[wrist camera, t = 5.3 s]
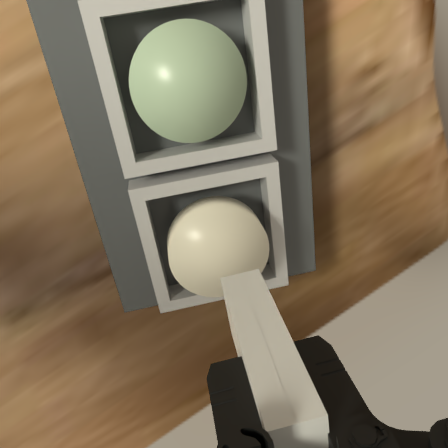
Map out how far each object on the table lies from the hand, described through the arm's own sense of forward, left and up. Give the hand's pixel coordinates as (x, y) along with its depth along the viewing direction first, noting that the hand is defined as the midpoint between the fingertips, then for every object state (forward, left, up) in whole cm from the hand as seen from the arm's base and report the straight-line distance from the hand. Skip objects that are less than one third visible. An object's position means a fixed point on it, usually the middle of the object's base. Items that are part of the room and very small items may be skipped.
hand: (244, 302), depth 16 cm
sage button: (0, +7, -11) cm, 13 cm away
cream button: (0, -2, -10) cm, 10 cm away
